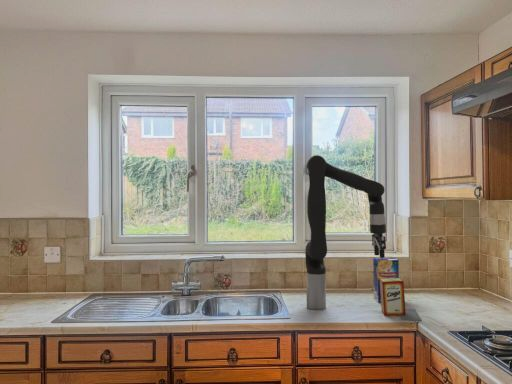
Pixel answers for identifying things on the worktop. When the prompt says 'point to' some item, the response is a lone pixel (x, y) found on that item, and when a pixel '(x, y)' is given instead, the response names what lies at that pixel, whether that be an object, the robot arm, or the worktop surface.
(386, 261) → the blue cardboard box
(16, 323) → the worktop surface
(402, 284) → the baking soda box
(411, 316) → the mat
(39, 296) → the worktop surface
